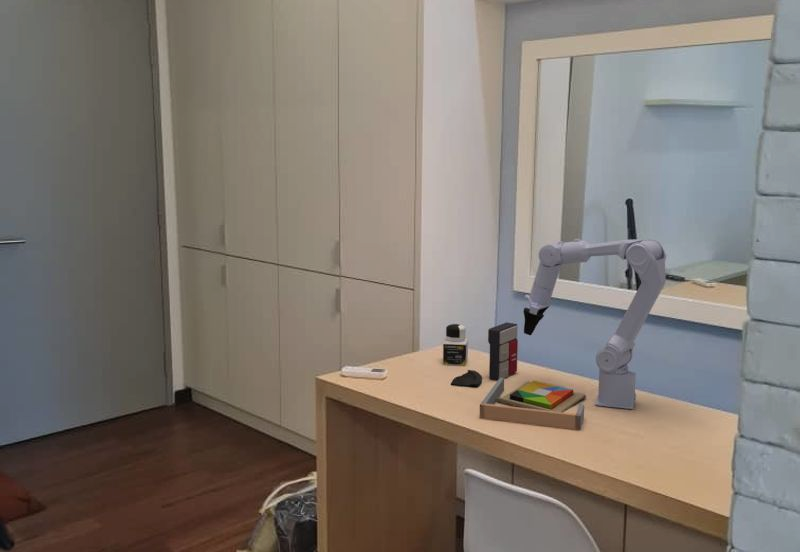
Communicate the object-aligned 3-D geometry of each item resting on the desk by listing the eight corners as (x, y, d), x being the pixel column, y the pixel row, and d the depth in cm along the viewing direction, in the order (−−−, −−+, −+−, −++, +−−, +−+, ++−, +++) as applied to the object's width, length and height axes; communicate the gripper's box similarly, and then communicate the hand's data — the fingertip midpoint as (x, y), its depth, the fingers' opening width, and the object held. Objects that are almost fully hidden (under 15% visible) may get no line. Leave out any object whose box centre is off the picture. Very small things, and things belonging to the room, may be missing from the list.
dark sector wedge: (489, 376, 221) (489, 371, 220) (477, 390, 208) (477, 384, 208) (462, 373, 224) (462, 368, 223) (449, 386, 211) (449, 381, 211)
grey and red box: (500, 381, 214) (501, 331, 212) (487, 379, 217) (488, 328, 214) (518, 372, 223) (519, 323, 220) (505, 370, 225) (506, 322, 223)
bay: (589, 399, 199) (590, 386, 198) (579, 430, 177) (580, 416, 176) (499, 389, 207) (499, 377, 206) (479, 418, 185) (479, 404, 184)
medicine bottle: (442, 365, 231) (443, 327, 229) (445, 358, 238) (445, 322, 236) (465, 366, 230) (466, 328, 228) (467, 359, 237) (468, 323, 235)
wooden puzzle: (494, 404, 197) (494, 391, 196) (530, 387, 211) (531, 375, 210) (553, 419, 186) (554, 405, 185) (587, 400, 200) (588, 387, 199)
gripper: (534, 274, 212) (521, 317, 216) (524, 287, 199) (511, 333, 203) (558, 282, 210) (544, 325, 215) (550, 296, 197) (536, 341, 201)
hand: (530, 329), depth 209 cm, fingers open, 7 cm apart
